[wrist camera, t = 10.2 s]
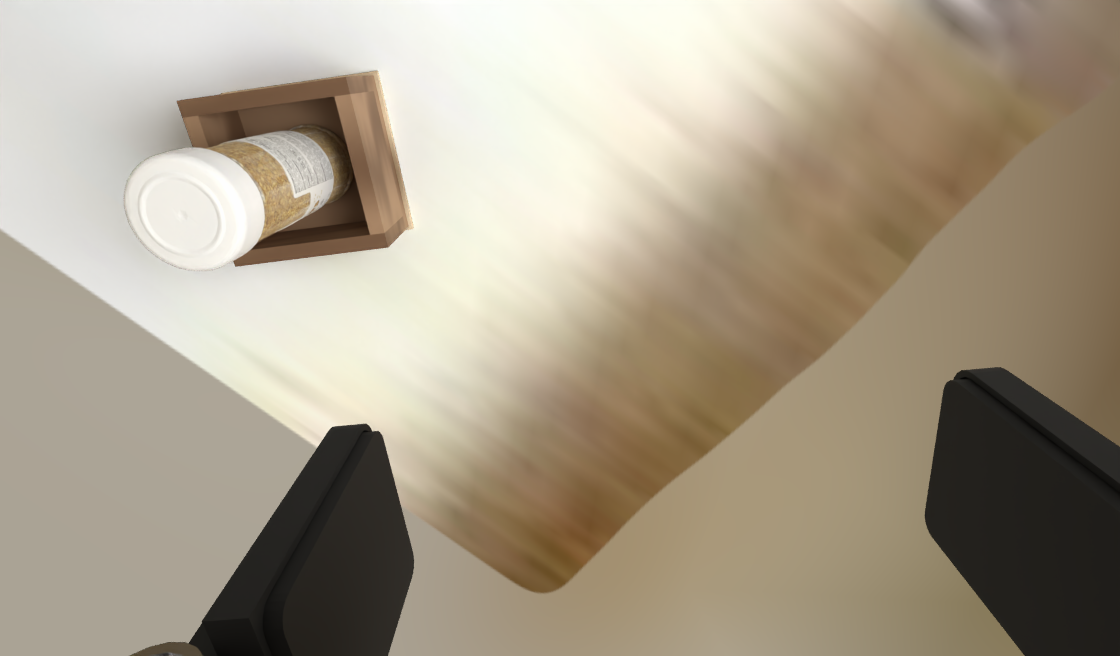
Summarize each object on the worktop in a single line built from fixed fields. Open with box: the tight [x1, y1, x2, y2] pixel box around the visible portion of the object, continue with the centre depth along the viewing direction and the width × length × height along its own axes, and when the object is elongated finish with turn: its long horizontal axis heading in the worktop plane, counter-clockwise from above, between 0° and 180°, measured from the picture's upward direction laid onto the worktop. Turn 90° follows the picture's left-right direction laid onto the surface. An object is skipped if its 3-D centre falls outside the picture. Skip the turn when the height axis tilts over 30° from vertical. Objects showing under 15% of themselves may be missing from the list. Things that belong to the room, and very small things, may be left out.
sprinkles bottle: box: [124, 124, 353, 271], centre depth 29 cm, size 5×5×13 cm
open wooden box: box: [177, 71, 414, 267], centre depth 34 cm, size 9×9×5 cm
